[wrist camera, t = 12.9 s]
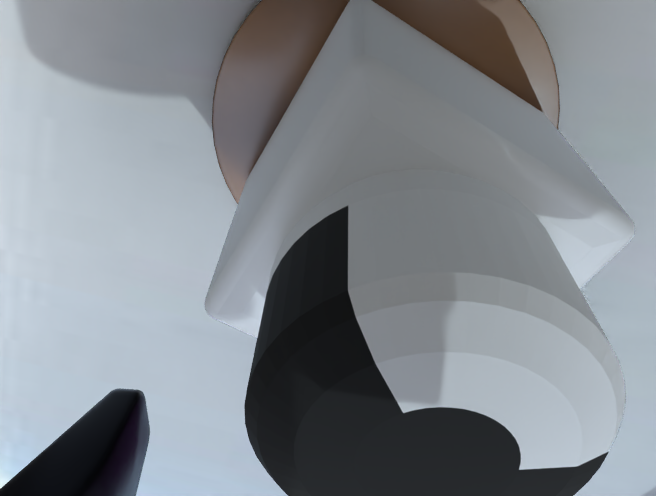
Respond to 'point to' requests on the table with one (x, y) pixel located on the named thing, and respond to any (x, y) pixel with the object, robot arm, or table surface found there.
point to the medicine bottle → (420, 282)
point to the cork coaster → (310, 36)
